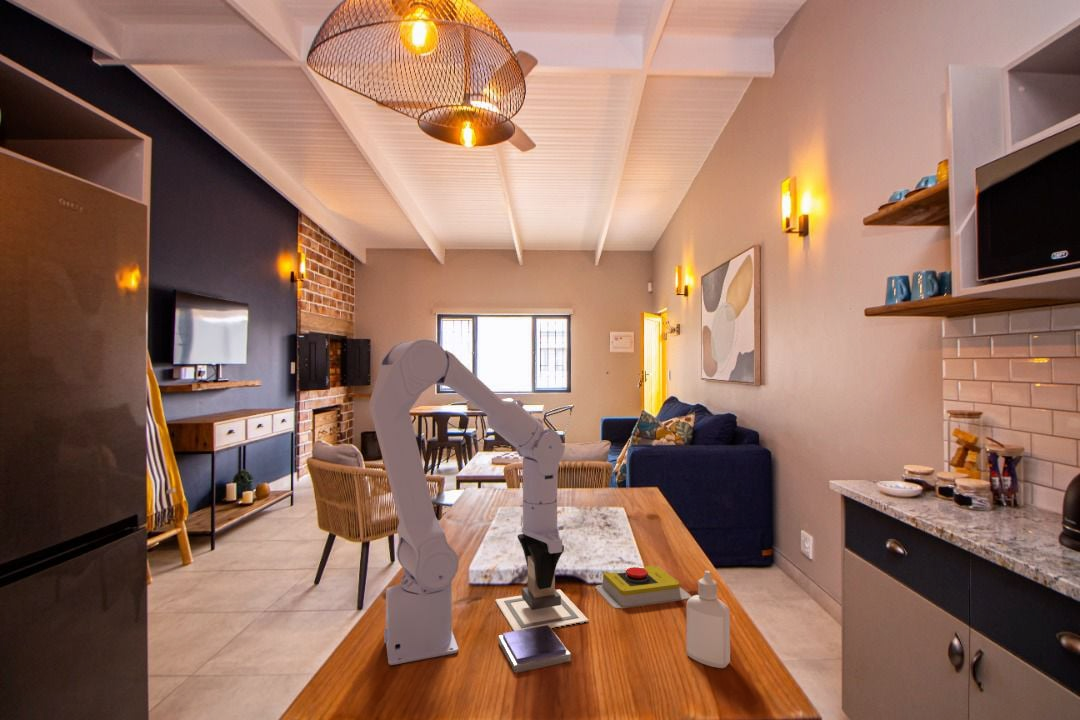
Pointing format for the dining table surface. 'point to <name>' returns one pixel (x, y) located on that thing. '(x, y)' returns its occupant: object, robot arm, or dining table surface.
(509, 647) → the ink pad
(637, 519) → the dining table surface
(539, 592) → the stamp
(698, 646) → the eye dropper bottle
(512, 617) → the marked card
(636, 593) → the emergency button
